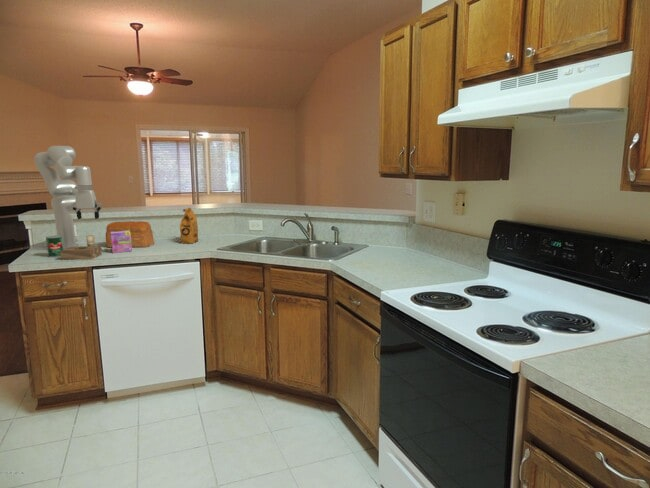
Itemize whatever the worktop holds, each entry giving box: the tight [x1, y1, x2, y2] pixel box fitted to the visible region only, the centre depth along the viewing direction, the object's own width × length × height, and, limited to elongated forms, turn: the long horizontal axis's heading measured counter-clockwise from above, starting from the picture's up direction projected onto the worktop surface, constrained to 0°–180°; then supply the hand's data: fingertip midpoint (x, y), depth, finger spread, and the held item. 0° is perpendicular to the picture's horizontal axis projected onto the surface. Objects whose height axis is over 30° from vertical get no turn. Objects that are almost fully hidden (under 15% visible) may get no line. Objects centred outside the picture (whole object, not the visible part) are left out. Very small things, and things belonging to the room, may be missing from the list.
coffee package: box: [179, 206, 199, 245], centre depth 289 cm, size 10×12×22 cm
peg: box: [86, 234, 96, 246], centre depth 260 cm, size 4×4×10 cm
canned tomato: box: [45, 234, 64, 258], centre depth 254 cm, size 8×8×11 cm
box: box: [110, 230, 133, 254], centre depth 263 cm, size 10×6×12 cm, turn 117°
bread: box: [105, 220, 155, 248], centre depth 281 cm, size 14×27×15 cm, turn 89°
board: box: [60, 245, 103, 261], centre depth 249 cm, size 12×16×5 cm
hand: (88, 218), depth 257 cm, fingers open, 9 cm apart
